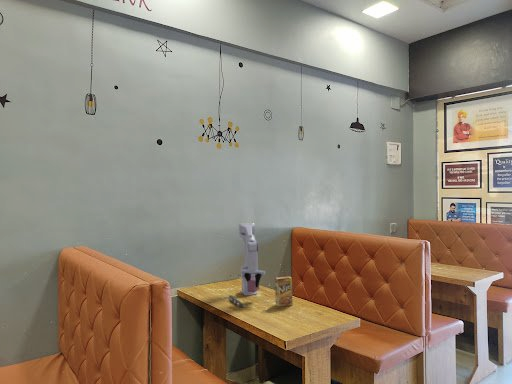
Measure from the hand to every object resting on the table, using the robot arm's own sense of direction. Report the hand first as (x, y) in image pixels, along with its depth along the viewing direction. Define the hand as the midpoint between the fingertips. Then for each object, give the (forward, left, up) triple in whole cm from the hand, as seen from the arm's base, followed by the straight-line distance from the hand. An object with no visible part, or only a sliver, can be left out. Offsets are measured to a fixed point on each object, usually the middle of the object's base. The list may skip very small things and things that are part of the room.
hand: (253, 286), depth 207 cm
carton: (0, 0, -2) cm, 2 cm away
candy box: (+13, +13, -9) cm, 20 cm away
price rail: (-2, -10, -9) cm, 14 cm away
